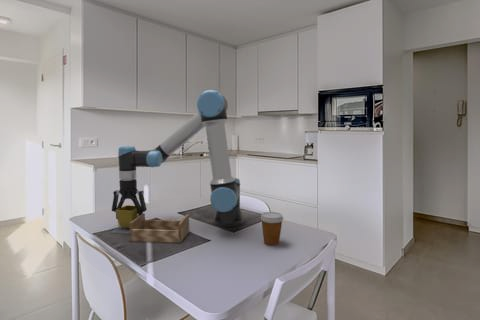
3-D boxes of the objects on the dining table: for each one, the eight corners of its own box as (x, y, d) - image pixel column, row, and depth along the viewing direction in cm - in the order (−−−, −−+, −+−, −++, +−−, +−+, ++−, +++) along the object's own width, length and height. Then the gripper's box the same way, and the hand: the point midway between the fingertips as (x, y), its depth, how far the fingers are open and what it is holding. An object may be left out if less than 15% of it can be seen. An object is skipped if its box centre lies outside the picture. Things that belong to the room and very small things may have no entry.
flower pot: (133, 229, 135) (132, 210, 134) (116, 228, 136) (115, 209, 135) (143, 223, 143) (142, 205, 142) (126, 222, 145) (126, 205, 144)
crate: (189, 231, 137) (188, 214, 136) (180, 242, 123) (180, 224, 122) (143, 229, 138) (142, 213, 138) (130, 241, 124) (129, 222, 124)
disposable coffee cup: (277, 248, 117) (277, 219, 115) (256, 243, 122) (256, 215, 120) (286, 241, 125) (286, 213, 123) (266, 236, 130) (266, 210, 128)
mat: (148, 224, 146) (148, 223, 146) (137, 234, 133) (137, 233, 133) (123, 224, 147) (123, 223, 147) (109, 233, 134) (109, 232, 134)
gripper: (153, 178, 140) (154, 223, 143) (110, 177, 142) (112, 222, 144) (147, 180, 133) (148, 229, 135) (101, 180, 134) (103, 227, 137)
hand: (129, 225), depth 140 cm, fingers closed on flower pot, 9 cm apart
